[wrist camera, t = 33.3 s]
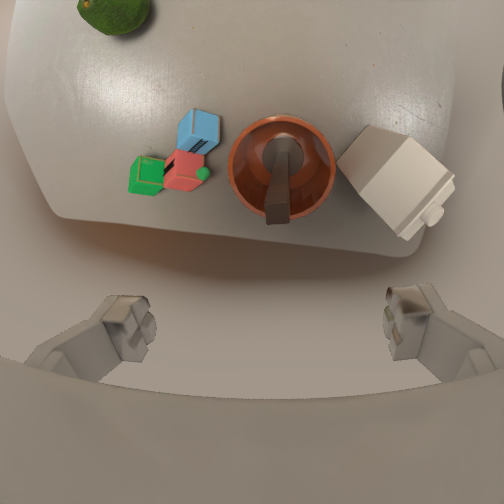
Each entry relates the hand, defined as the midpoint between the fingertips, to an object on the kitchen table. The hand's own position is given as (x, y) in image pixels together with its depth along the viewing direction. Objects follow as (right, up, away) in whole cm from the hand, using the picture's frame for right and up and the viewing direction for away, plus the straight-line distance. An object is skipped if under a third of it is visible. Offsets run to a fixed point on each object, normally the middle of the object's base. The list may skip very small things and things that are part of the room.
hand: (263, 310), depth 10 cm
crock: (+4, +15, +29) cm, 33 cm away
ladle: (+4, +14, +29) cm, 32 cm away
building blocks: (-10, +16, +31) cm, 36 cm away
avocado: (-17, +35, +22) cm, 45 cm away
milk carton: (+15, +14, +28) cm, 35 cm away
